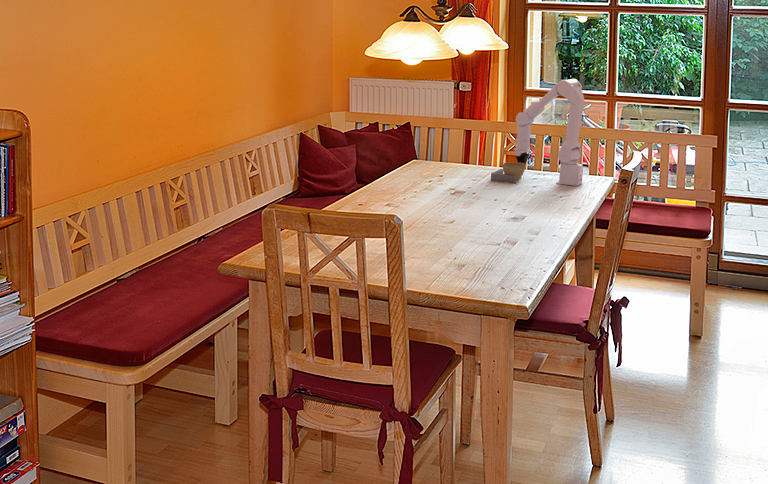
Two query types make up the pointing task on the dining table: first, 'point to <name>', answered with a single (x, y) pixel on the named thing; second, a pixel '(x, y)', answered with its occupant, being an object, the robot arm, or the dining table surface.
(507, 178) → the keeper bracket
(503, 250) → the dining table surface
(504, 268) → the dining table surface
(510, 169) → the flower pot
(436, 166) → the dining table surface
